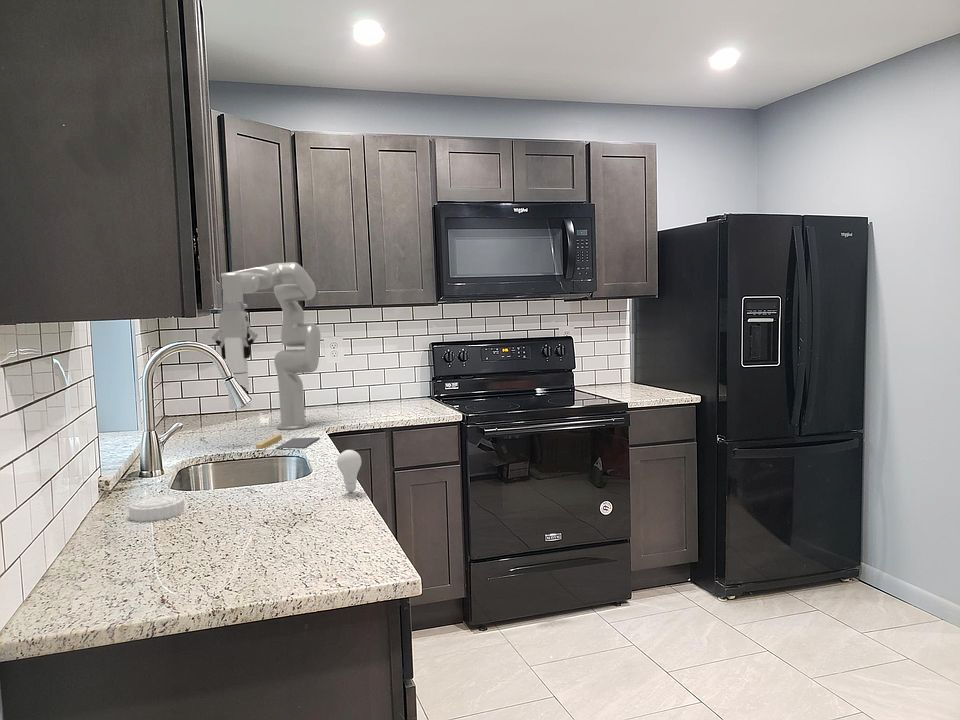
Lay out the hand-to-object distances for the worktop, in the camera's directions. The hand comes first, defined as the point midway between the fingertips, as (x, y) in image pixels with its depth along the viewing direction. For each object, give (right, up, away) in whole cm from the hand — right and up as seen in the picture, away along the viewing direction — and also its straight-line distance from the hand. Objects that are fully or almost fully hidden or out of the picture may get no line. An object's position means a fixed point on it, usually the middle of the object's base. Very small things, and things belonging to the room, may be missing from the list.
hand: (236, 358), depth 257 cm
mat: (+22, -31, +1) cm, 37 cm away
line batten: (+11, -31, +1) cm, 33 cm away
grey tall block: (+1, -18, +2) cm, 18 cm away
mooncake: (+9, -38, -84) cm, 92 cm away
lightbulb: (+53, -35, -72) cm, 96 cm away
